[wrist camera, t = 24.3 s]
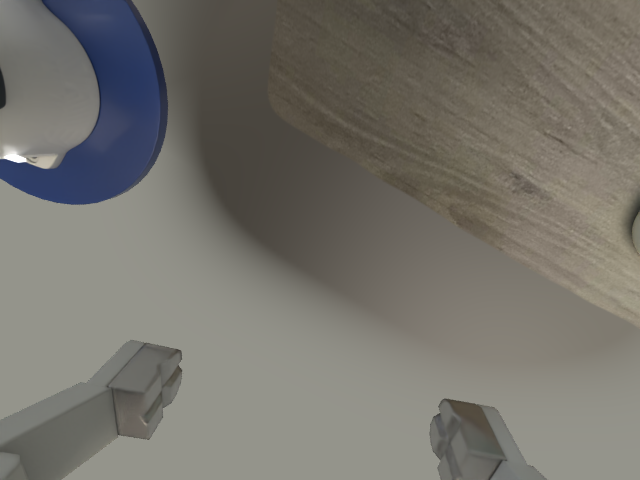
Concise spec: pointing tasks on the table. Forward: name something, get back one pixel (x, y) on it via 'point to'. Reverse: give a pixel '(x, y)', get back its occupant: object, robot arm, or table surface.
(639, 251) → the vase
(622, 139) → the table surface
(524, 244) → the table surface
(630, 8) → the table surface
